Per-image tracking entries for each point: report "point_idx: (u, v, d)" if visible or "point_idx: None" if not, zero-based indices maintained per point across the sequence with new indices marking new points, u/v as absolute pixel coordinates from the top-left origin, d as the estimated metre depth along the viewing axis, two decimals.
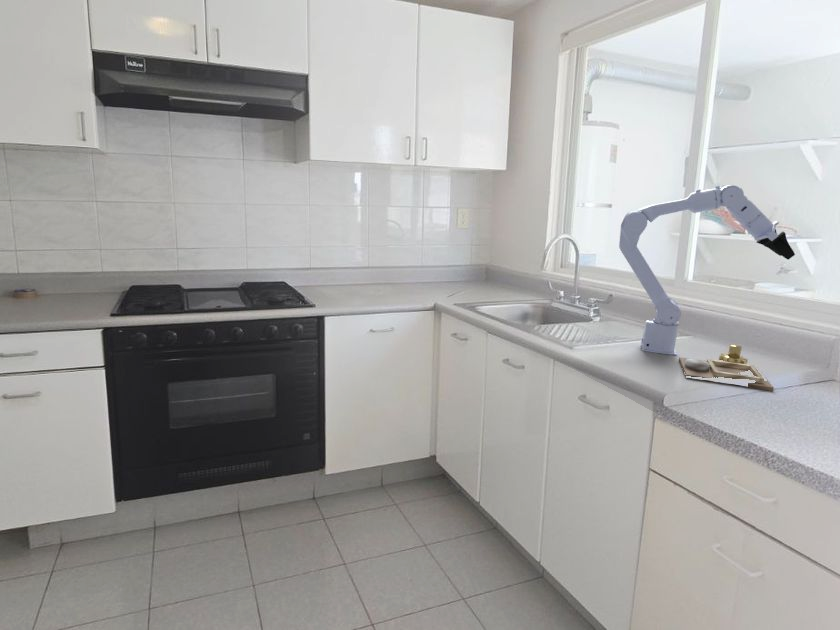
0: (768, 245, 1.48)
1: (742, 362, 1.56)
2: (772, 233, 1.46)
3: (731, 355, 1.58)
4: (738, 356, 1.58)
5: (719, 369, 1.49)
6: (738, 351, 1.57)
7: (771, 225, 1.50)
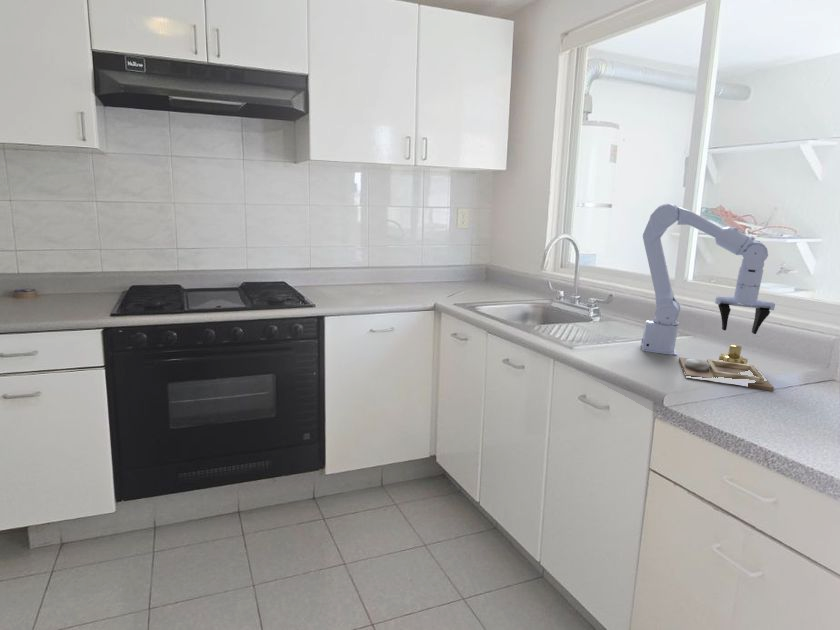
0: None
1: (742, 362, 1.56)
2: (716, 298, 1.57)
3: (731, 355, 1.58)
4: (738, 356, 1.58)
5: (719, 369, 1.49)
6: (738, 351, 1.57)
7: (739, 299, 1.53)
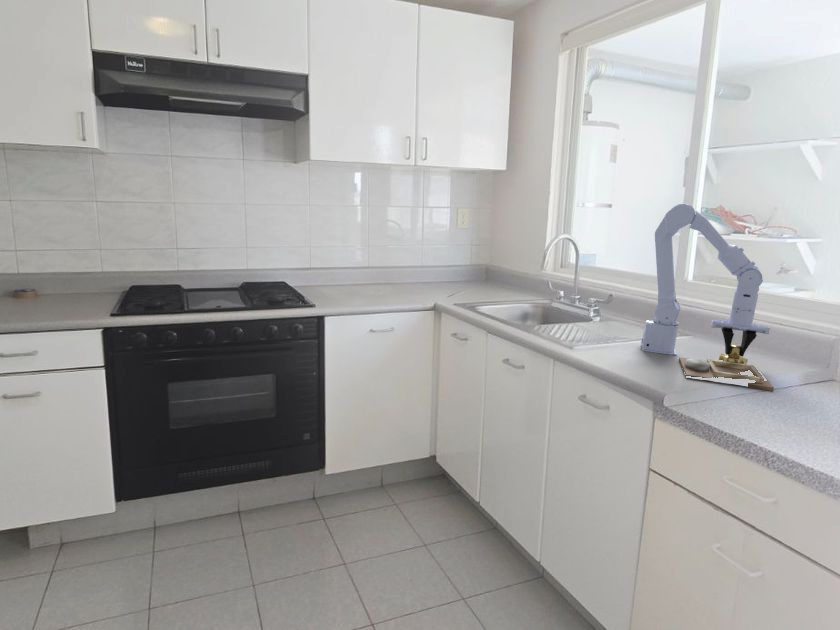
0: None
1: (742, 362, 1.56)
2: (712, 322, 1.58)
3: (731, 355, 1.58)
4: (738, 356, 1.58)
5: (719, 369, 1.49)
6: (738, 351, 1.57)
7: (734, 323, 1.55)
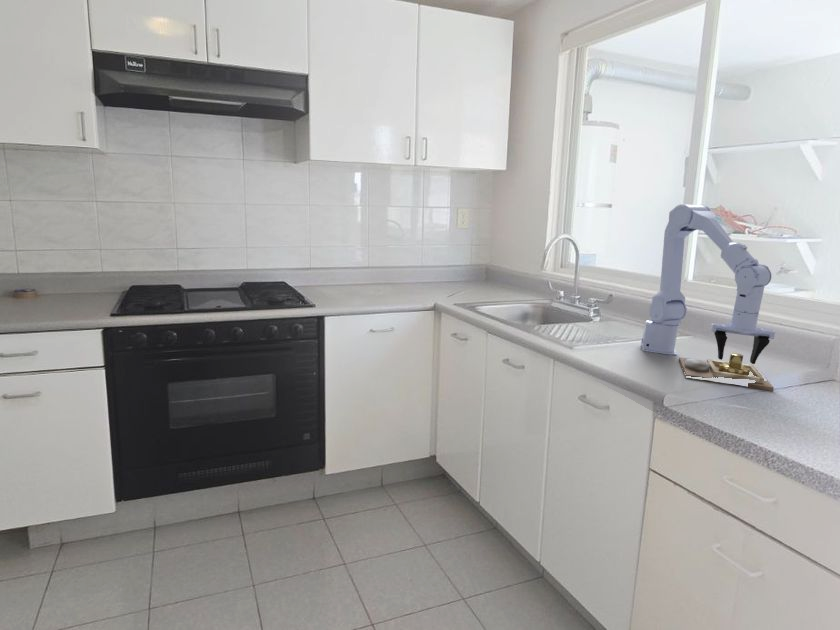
0: None
1: (744, 372, 1.44)
2: (712, 325, 1.46)
3: (732, 365, 1.46)
4: (739, 366, 1.45)
5: None
6: (739, 360, 1.45)
7: (736, 327, 1.42)
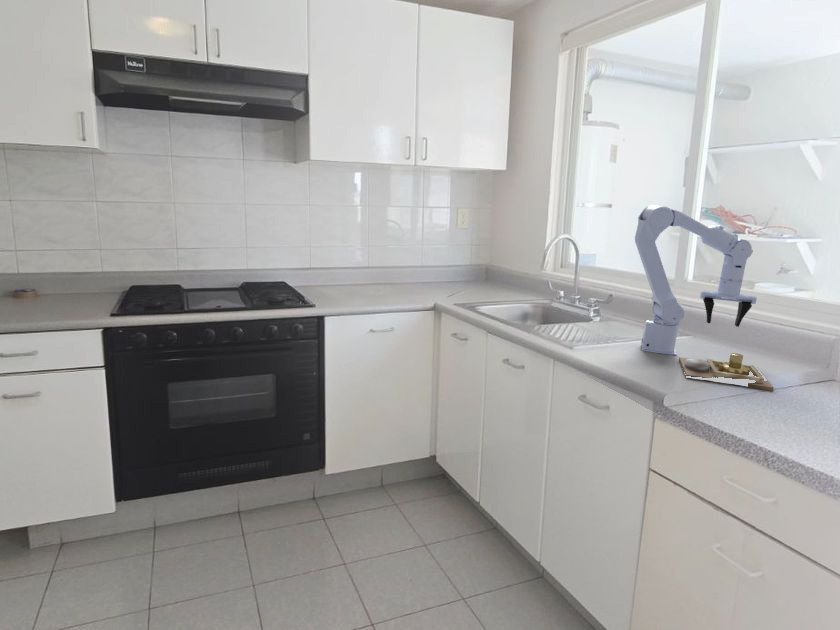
0: None
1: (744, 372, 1.44)
2: (701, 292, 1.64)
3: (732, 365, 1.46)
4: (739, 366, 1.45)
5: None
6: (739, 360, 1.45)
7: (722, 293, 1.61)
